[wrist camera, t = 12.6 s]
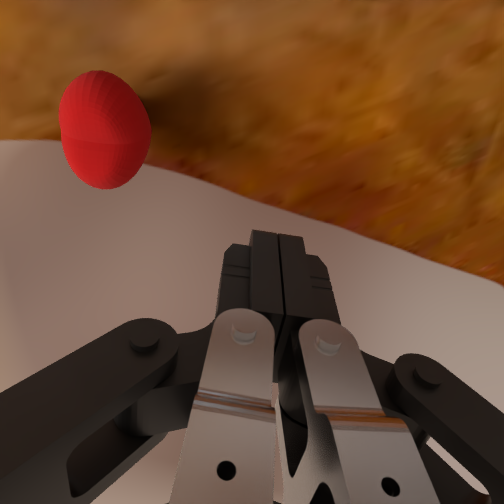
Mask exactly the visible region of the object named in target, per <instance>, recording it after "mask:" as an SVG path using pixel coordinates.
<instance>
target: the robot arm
mask: <svg viewBox="0 0 504 504" xmlns="http://www.w3.org/2000/svg"><path fill="white" fill-rule="evenodd" d="M272 382H275V383H278V387H279V395H278V398H277V401H276V404H275V408H273V407H271V397H272V396H271V395H272ZM276 427H277V435H278V443H279V451H280V459H281V467H282V475H283V484H284V495H283V503H282V504H504V414H503V413H502V412H501V411H500V410H498V409H497V408H496V407H495V406H493V405H492V404H491V403H489V402H488V401H487V400H486V399H484V398H483V397H482V396H481V395H479V394H478V393H477V392H475V391H474V390H473V389H472V388H470V387H469V386H468V385H467V384H465V383H464V382H462V381H461V380H460V379H459V378H458V377H456V376H455V375H454V374H453V373H451V372H450V371H449V370H447V369H446V368H445V367H444V366H442V365H441V364H440V363H438V362H437V361H435V360H433V359H431V358H429V357H426V356H424V355H420V354H412V353H410V354H404V355H402V356H400V357H399V358H398V359H397V360H396V362H395V363H394V364H392V363H390V362H387V361H384V360H382V359H379V358H377V357H374V356H372V355H369V354H367V353H365V352H363V351H361V350H360V349H359V346H358V343H357V341H356V339H355V337H354V336H353V335H352V334H351V332H349V331H348V330H347V329H346V328H345V327H343V326H342V325H341V322H340V318H339V314H338V310H337V306H336V302H335V299H334V294H333V291H332V286H331V282H330V278H329V274H328V270H327V267H326V266H325V264H324V263H323V262H322V261H321V260H320V258H319V257H318V256H315V255H308V254H306V252H305V246H304V241H303V238H302V237H299V236H292V235H286V234H276V233H272V232H265V231H259V230H252V232H251V237H250V242H249V246H247V245H240V244H232V245H231V246H230V247H229V248H228V249H227V250H226V251H225V253H224V259H223V265H222V272H221V278H220V284H219V290H218V298H217V306H216V314H215V319H214V320H213V322H212V323H210V324H209V325H208V326H206V327H205V328H203V329H200V330H198V331H194V332H189V333H182V334H177V333H176V331H175V330H174V329H173V328H172V327H171V326H170V325H168V324H167V323H165V322H163V321H160V320H157V319H152V318H140V319H135V320H131V321H128V322H126V323H124V324H122V325H121V326H119V327H117V328H115V329H113V330H111V331H110V332H108V333H106V334H104V335H103V336H101V337H99V338H97V339H95V340H94V341H92V342H90V343H88V344H87V345H85V346H83V347H81V348H79V349H78V350H76V351H74V352H72V353H70V354H69V355H67V356H65V357H63V358H62V359H60V360H58V361H56V362H54V363H53V364H51V365H49V366H47V367H46V368H44V369H42V370H40V371H38V372H37V373H35V374H33V375H31V376H30V377H28V378H26V379H24V380H23V381H21V382H19V383H17V384H15V385H14V386H12V387H10V388H8V389H6V390H5V391H3V392H1V393H0V504H90V503H91V502H92V501H93V500H94V499H96V497H98V496H99V495H100V494H101V493H102V492H104V491H105V490H106V489H107V488H108V487H109V486H110V485H111V484H113V483H114V482H115V481H116V480H117V479H118V478H119V477H121V476H122V475H123V474H124V473H125V472H126V471H128V470H129V469H130V468H131V467H132V466H133V465H134V464H135V463H137V462H138V461H139V460H140V459H141V458H142V457H143V456H145V455H146V454H147V453H148V452H149V451H150V450H151V449H152V448H154V447H155V446H156V445H157V444H158V443H159V442H161V441H162V440H163V439H164V438H165V436H166V435H167V433H168V432H169V431H174V430H178V429H182V428H187V431H186V435H185V439H184V443H183V447H182V451H181V456H180V459H179V464H178V468H177V472H176V476H175V480H174V484H173V488H172V493H171V497H170V501H169V503H167V504H281V503H278V502H276V501H273V488H274V462H275V461H274V458H275V434H276ZM430 437H432V438H433V439H434V440H436V441H437V443H439V444H440V445H441V446H442V447H443V448H444V449H445V450H446V451H447V452H448V453H450V455H452V456H453V457H454V458H455V459H456V460H457V461H458V462H459V463H460V464H461V465H462V466H463V467H465V468H466V469H467V470H468V471H469V472H470V473H471V474H472V475H473V476H474V477H475V478H476V479H478V480H479V481H480V482H481V483H482V484H483V485H484V487H485V488H486V489H487V491H488V492H489V495H486V494H483V493H480V492H478V491H477V490H475V489H474V488H473V487H472V486H470V485H469V484H468V483H467V482H466V481H465V480H464V479H463V478H462V477H461V476H460V475H459V474H458V473H457V472H456V471H455V470H453V469H452V468H451V467H450V466H449V465H448V464H447V463H446V462H445V461H444V460H443V459H442V458H441V457H440V456H439V455H438V454H436V453H435V452H434V451H433V450H432V449H431V448H430V447H429V446H428V445H427V444H426V442H427V441H428V440H429V438H430Z"/></svg>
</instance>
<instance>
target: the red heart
mask: <svg viewBox="0 0 504 504" xmlns="http://www.w3.org/2000/svg"><path fill="white" fill-rule="evenodd" d="M59 123H60V127H61V138H62V145H63V150H64V153H65V156H66V159H67V161H68V163H69V165H70V167H71V169H72V170H73V172H74V173H75V174H76V175H77V176H78V177H79V178H80V179H81V180H82V181H84V182H85V183H87V184H88V185H90V186H92V187H95V188H99V189H113V188H117V187H120V186H122V185H123V184H125V183H127V182H128V181H129V180H130V179H131V178H132V177H134V175H135V174H136V173H137V172H138V170H139V169H140V167H141V166H142V164H143V162H144V160H145V158H146V155H147V152H148V149H149V146H150V141H151V134H152V130H151V124H150V120H149V117H148V114H147V112H146V109H145V107H144V105H143V103H142V102H141V100H140V99H139V97H138V96H137V94H136V93H135V92H134V91H133V89H132V88H131V87H130V86H129V85H128V84H127V83H126V82H124V81H123V80H122V79H121V78H119V77H117V76H116V75H114V74H112V73H109V72H105V71H90V72H87V73H84V74H81V75H80V76H78V77H77V78H76V79H74V80H73V81H72V82H71V83H70V85H69V86H68V87H67V88H66V90H65V92H64V94H63V96H62V98H61V102H60V107H59Z"/></svg>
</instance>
